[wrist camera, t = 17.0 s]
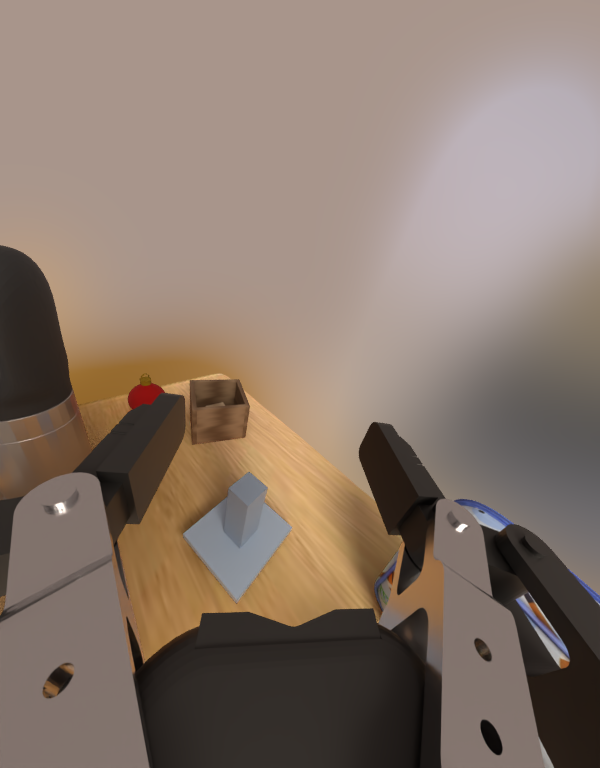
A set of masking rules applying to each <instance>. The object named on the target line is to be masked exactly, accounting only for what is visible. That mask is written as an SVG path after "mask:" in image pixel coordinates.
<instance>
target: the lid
mask: <svg viewBox="0 0 600 768" xmlns="http://www.w3.org/2000/svg"><path fill="white" fill-rule="evenodd" d="M266 493H267V487H266V486H265V485H264V484H263V483H262V482H260V481H259V480H258V479H257V478H256V477H255V476H254V475H252V474H251V473H250V472H248V473H247V474H246V475H244V476H243V477H242V478H241V479H239V480H238V481H237V482H236V483H234V484H233V485H232V486H231V487H229V489H228V497H226V498H225V499H224V500H223V501H222V502H220V503H219V504H218V505H217V506H216V507H214V508H213V509H212V510H211V511H210V512H208V513H207V514H206V515H205V516H204V517H202V518H201V519H200V520H199V521H198V522H196V523H195V524H194V525H193V526H192V527H190V528H189V529H188V530H187V531H186V532H184V533H183V538H184V539H185V540H186V542H187V543H188V544H189V545H190V547H191V548H192V549H193V550H194V552H195V553H196V554H197V555H198V557H199V558H200V559H201V560H202V562H203V563H204V564H205V565H206V567H207V568H208V569H209V570H210V572H211V573H212V574H213V575H214V576H215V578H216V579H217V580H218V581H219V583H220V584H221V585H222V586H223V588H224V589H225V590H226V591H227V593H228V594H229V595H230V596H231V598H232V599H233V600H234V601H235V603H236V604H237V602H238V601H239V600H240V598H241V597H242V596H243V594H244V593H245V592H246V590H247V589H248V588H249V586H250V585H251V584H252V582H253V581H254V580H255V578H256V577H257V576H258V574H259V573H260V572H261V570H262V569H263V568H264V566H265V565H266V564H267V562H268V561H269V560H270V558H271V557H272V556H273V554H274V553H275V552H276V550H277V549H278V548H279V546H280V545H281V544H282V542H283V541H284V540H285V538H286V537H287V535H288V534H289V533H290V531H291V529H292V527H291V526H290V525H289V524H288V523H287V522H286V521H284V520H283V519H282V518H281V517H280V516H279V515H278V514H277V513H276V512H275V511H273V510H272V509H271V508H270V507H269V506H268V505H267V504H266V503H265V502H264V501H265V497H266Z"/></svg>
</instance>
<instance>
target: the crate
mask: <svg viewBox="0 0 600 768" xmlns="http://www.w3.org/2000/svg"><path fill="white" fill-rule="evenodd" d="M221 402H223V403H224V404H225V406H213V407H206V406H208V405H212V404H217V403H221ZM249 408H250V405H249V403H248V400H247V398H246V395H245V393H244V390H243V388H242V385H241V383H240V381H239V380H190V415H191V429H192V443H193V445H194V444H201V443H208V442H216V441H223V440H230V439H237V438H244V437H245V436H246V429H247V422H248V415H249Z"/></svg>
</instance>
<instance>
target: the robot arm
mask: <svg viewBox="0 0 600 768" xmlns="http://www.w3.org/2000/svg"><path fill="white" fill-rule="evenodd" d="M184 433H185V398H184V396H183V395H176V394H168V393H161V394H159V396H158V397H157V398H156V399H155V400H154V402H153V403H152V404H151V405H149V404H142V405H140V406H138V407H137V408H135V409H133V410H131V411H129V412H128V413H127V414H126V415H125V416H124V417H123V419H122V420H121V421H120V422H119V424H117V425H116V426H115V427H114V428H113V429H112V430H111V433H109V434H108V435H107V436H106V437H105V438H104V439H103V440H102V441H101V442H100V443H99V444H98V445H97V446H96V447H95V449H94V450H93V451H92V449H91V446H90V443H89V439H88V436H87V433H86V430H85V427H84V423H83V420H82V417H81V414H80V411H79V407H78V404H77V401H76V398H75V395H74V392H73V389H72V385H71V382H70V378H69V369H68V359H67V355H66V351H65V347H64V343H63V340H62V335H61V331H60V326H59V321H58V316H57V312H56V307H55V303H54V299H53V295H52V292H51V290H50V287H49V284H48V282H47V280H46V278H45V276H44V274H43V272H42V271H41V270H40V268H39V267H38V265H37V264H36V263H35V262H34V261H33V260H32V259H31V258H29V257H28V256H27V255H25V254H24V253H22V252H20V251H18V250H16V249H13V248H9V247H6V246H1V245H0V597H1V596H4V595H6V601H5V607H4V610H3V612H2V614H1V615H0V768H545V766H544V761H543V756H542V751H541V747H540V742H539V739H540V741H541V743H542V745H543V747H544V749H545V751H546V753H547V755H548V757H549V759H550V761H551V763H552V764H553V766H554V768H600V605H599V604H598V603H597V602H596V600H595V599H594V598H593V597H592V596H591V595H590V594H589V592H588V591H587V590H586V589H585V588H584V587H583V586H582V584H581V583H580V582H579V581H578V580H577V579H576V577H575V576H574V575H573V574H572V573H571V572H570V571H569V569H567V567H566V566H565V565H564V564H563V563H562V561H561V560H560V559H559V558H558V557H557V556H556V555H555V553H554V552H553V551H552V550H551V549H550V548H549V547H548V546H547V545H546V544H545V543H544V542H543V541H542V540H541V539H540V538H539V537H537V536H536V535H535V534H533V533H532V532H530V531H529V530H527V529H525V528H523V527H521V526H519V525H515V524H509V525H507V526H506V527H505V528H504V529H503V530H501V531H500V532H499V531H497V530H494V529H491V528H489V527H486V526H483V525H481V524H479V523H478V521H477V520H476V519H475V517H474V516H473V515H472V514H471V513H470V512H469V511H468V510H467V509H465V508H464V507H463V506H461V505H460V504H458V503H456V502H454V501H452V500H449V499H446V498H445V497H444V496H443V494H442V492H441V491H440V490H439V488H438V487H437V485H436V484H435V482H434V481H433V479H432V478H431V476H430V475H429V473H428V472H427V470H426V469H425V467H424V466H422V463H421V461H420V460H419V458H417V455H416V454H415V452H414V451H413V449H412V448H411V446H410V445H409V444H408V443H407V442H406V441H404V440H403V439H402V438H401V437H399V435H398V434H397V432H396V431H395V429H394V428H393V426H392V425H390V424H385V423H378V422H373V423H372V424H371V425H370V427H369V429H368V431H367V433H366V435H365V437H364V439H363V441H362V443H361V445H360V448H359V459H360V462H361V464H362V467H363V470H364V472H365V475H366V477H367V480H368V483H369V485H370V488H371V490H372V493H373V496H374V498H375V501H376V503H377V506H378V509H379V511H380V514H381V516H382V519H383V522H384V524H385V527H386V529H387V532H388V535H401V536H402V539H403V542H402V543H401V545H400V548H399V553H398V558H397V563H396V568H395V573H394V578H393V583H392V588H391V593H390V597H389V600H388V603H387V605H386V607H385V609H384V611H383V613H382V615H381V618H380V621H379V624H378V623H377V622H376V618H375V614H374V610H373V609H338V610H333V611H331V612H329V613H327V614H324V615H322V616H320V617H318V618H315V619H313V620H311V621H308V622H306V623H304V624H302V625H299V626H296V627H291V626H288V625H285V624H282V623H279V622H276V621H273V620H270V619H267V618H265V617H262V616H259V615H256V614H253V613H250V612H233V613H202V617H201V622H200V626H199V627H196V628H194V629H191V630H189V631H187V632H185V633H183V634H181V635H180V636H178V637H176V638H175V639H173V640H172V641H170V642H169V643H167V644H166V645H165V646H163V647H162V648H161V649H160V650H158V651H157V652H156V653H155V654H154V655H153V656H152V657H150V658H149V659H148V660H147V661H146V662H145V660H144V655H143V651H142V646H141V641H140V637H139V632H138V628H137V624H136V620H135V616H134V612H133V608H132V604H131V599H130V595H129V590H128V585H127V580H126V576H125V571H124V566H123V561H122V557H121V552H120V547H119V542H118V537H119V535H120V533H121V532H122V530H123V528H124V526H125V525H126V524H140V522H141V520H142V518H143V516H144V514H145V512H146V510H147V508H148V506H149V504H150V502H151V500H152V498H153V496H154V495H155V493H156V491H157V489H158V487H159V485H160V483H161V481H162V479H163V477H164V475H165V473H166V471H167V469H168V467H169V465H170V463H171V461H172V459H173V457H174V455H175V453H176V451H177V450H178V448H179V446H180V444H181V442H182V439H183V437H184ZM528 592H529V593H530V595H531V596H532V598H533V599H534V601H535V602H536V604H537V605H538V606H539V608H540V609H541V611H542V612H543V614H544V615H545V617H546V618H547V619H548V621H549V622H550V624H551V625H552V627H553V628H554V630H555V631H556V632H557V634H558V635H559V637H560V638H561V640H562V641H563V643H564V644H565V646H566V648H567V651H568V654H569V658H570V662H569V665H568V666H567V667H566V668H562V669H561V668H560V667H559V666H558V664H557V663H556V662H555V660H554V659H553V657H552V655H551V654H550V652H549V651H548V649H547V648H546V646H545V645H544V643H543V641H542V640H541V638H540V637H539V635H538V634H537V632H536V631H535V629H534V627H533V626H532V624H531V623H530V621H529V620H528V618H527V616H526V615H525V613H524V612H523V610H522V609H521V607H520V606H519V604H518V602H517V601H516V599H518V598H519V597H521V596H523V595H525V594H526V593H528Z"/></svg>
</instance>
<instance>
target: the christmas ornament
mask: <svg viewBox="0 0 600 768" xmlns="http://www.w3.org/2000/svg"><path fill="white" fill-rule="evenodd" d="M143 375H144V374H143ZM143 375H142V376H143ZM142 376H141V378H140V385H137V386H136V387H134V388H133V389H132V390H131V392H130V393H129V396H128V403H129V405H130V407H131V408H132V409H135V408H137V407H138V406H140V405H142V404H149V405H151V404H152V403H153V402H154V400H155V399H156V398H157V397H158V396H159V394H161V393H165V392H164V390H163V389H162V388H161V387H159V386H158V385H156V384H152V383H151V378H150V377H149V375H148V377H142Z"/></svg>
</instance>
